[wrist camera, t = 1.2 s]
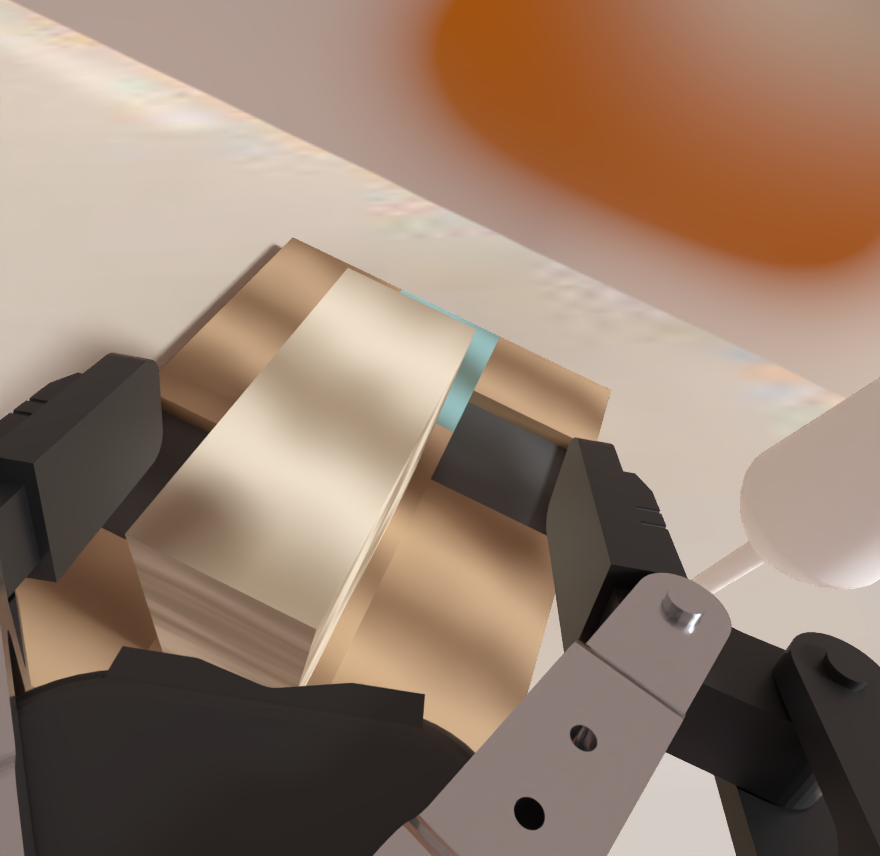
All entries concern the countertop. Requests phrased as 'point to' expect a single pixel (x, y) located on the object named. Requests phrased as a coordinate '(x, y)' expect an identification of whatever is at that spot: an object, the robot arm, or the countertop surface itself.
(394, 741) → the robot arm
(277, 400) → the birch block
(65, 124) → the countertop surface
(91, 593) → the trap deck
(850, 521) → the champagne flute
